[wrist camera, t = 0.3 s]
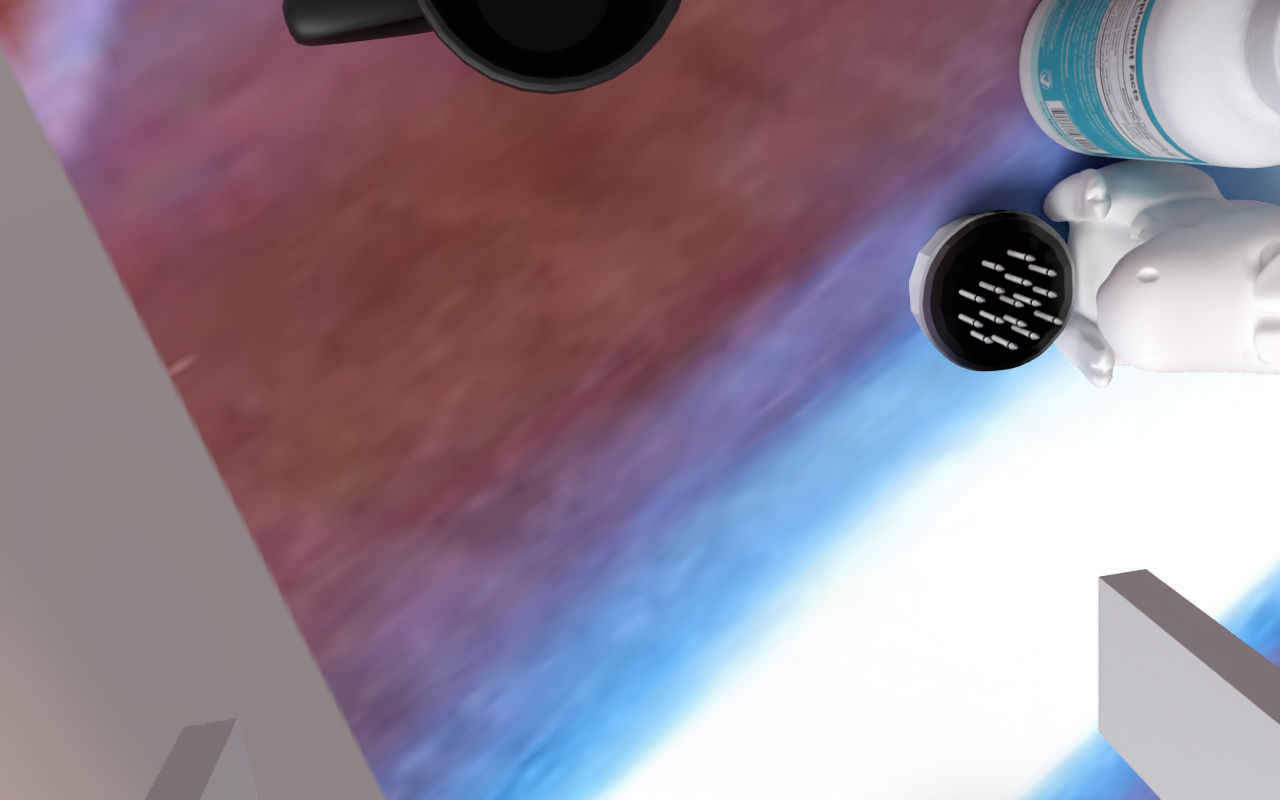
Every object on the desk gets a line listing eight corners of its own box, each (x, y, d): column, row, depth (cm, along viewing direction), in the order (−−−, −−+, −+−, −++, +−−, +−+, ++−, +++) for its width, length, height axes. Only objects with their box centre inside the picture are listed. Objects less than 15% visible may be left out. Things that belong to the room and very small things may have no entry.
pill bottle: (1214, -23, 42) (1528, -82, 29) (1160, 169, 43) (1434, 195, 30) (1036, -60, 40) (1279, -138, 27) (989, 138, 42) (1196, 153, 29)
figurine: (893, 189, 42) (1039, 221, 30) (1319, 120, 44) (1620, 125, 32) (909, 392, 45) (1051, 495, 33) (1313, 321, 46) (1592, 396, 34)
